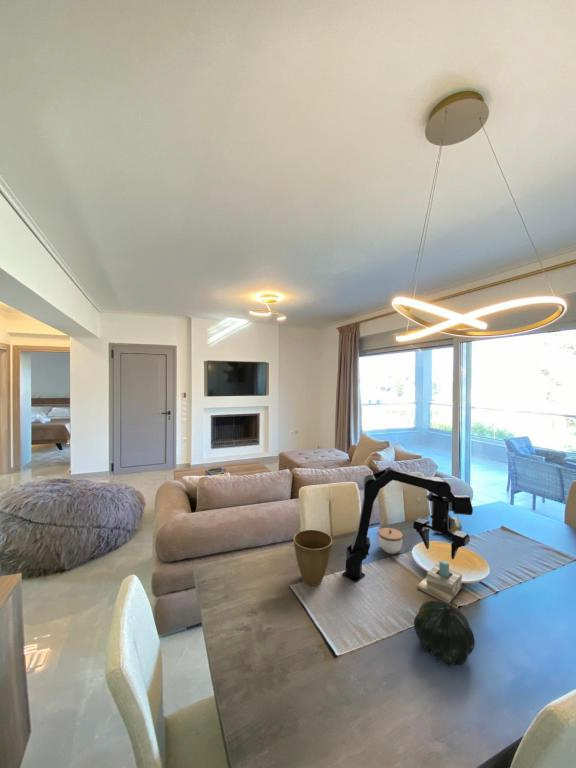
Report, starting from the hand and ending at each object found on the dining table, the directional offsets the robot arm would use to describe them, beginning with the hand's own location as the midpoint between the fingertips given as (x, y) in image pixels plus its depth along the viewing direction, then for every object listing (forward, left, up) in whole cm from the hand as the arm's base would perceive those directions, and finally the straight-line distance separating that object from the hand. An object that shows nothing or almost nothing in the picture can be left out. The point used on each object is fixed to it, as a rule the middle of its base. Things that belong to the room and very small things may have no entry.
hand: (439, 553), depth 117 cm
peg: (0, -2, -11) cm, 11 cm away
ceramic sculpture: (+45, +13, -12) cm, 49 cm away
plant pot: (-33, +34, -12) cm, 49 cm away
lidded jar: (+9, +25, -12) cm, 29 cm away
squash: (-29, -13, -12) cm, 34 cm away
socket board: (-2, -1, -12) cm, 12 cm away
